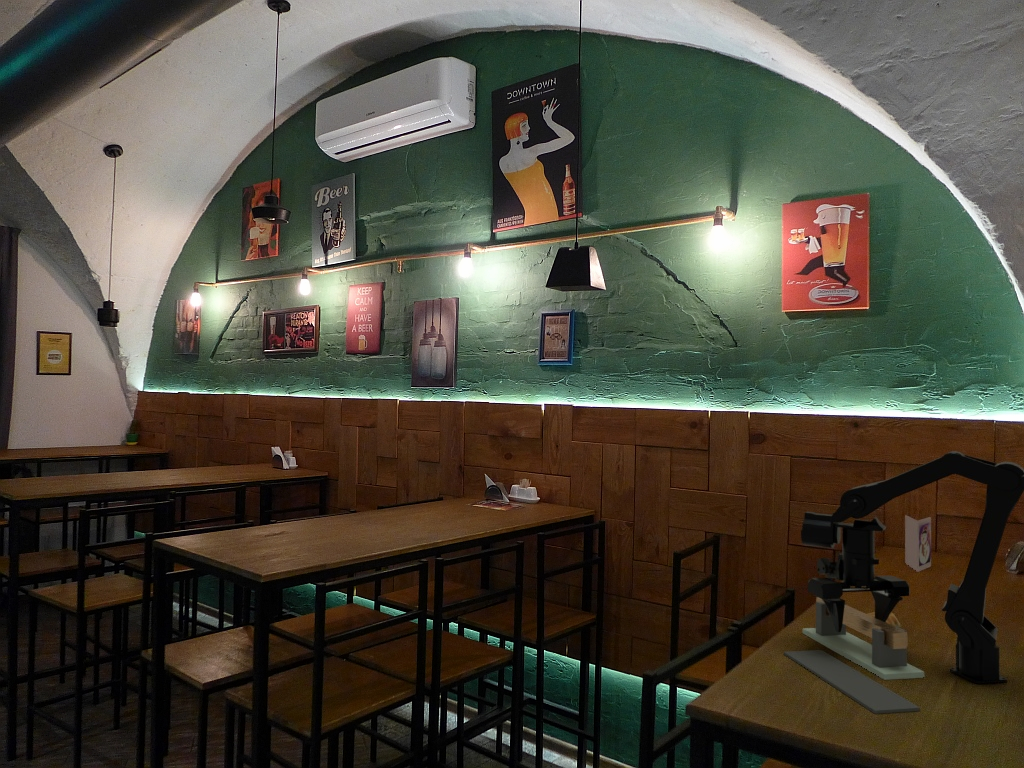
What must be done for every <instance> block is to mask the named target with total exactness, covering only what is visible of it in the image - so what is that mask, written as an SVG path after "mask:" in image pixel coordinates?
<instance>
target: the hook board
mask: <svg viewBox="0 0 1024 768" xmlns="http://www.w3.org/2000/svg"><path fill="white" fill-rule="evenodd" d="M845 605H847V602H845ZM896 628H898V629H900V630H903V631H905V632H907V633H908V631H907V629H904V628H901V626H900V627H896ZM802 634H803V635H805V636H807V637H809V638H811V640H813V641H815V642H817V643H818V644H821V645H823V646H825V647H826V648H828V649H830V650H831V651H833V652H835V653H837V654H838V655H840V656H842V657H843V656H844V657H843V658H845V659H847V660H849V661H850V660H851V662H852V663H854V664H856V665H857V664H858V666H859V665H860V666H859V667H861V666H862V668H863V669H864V668H865V670H866V669H867V671H868V672H870V673H871V672H872V674H873V673H874V674H873V675H875V674H876V675H875V676H877V677H878V676H879V678H880V679H882V680H884V681H888V680H904V679H905V680H906V679H924V678H925V671H923V670H922V669H920V668H917V667H916V666H914V665H912V664H910V663H908V656H907V655H908V653H907V652H908V651H907V649H908V648H905V649H893V648H891V647H889V646H887V645H885V644H884V631H882V630H880V629H878V628H872V638H871V643H869V642H866V641H865V640H863V639H861V638H859V637H857V636H855V635H853V634H851V633H849V632H847V626H846V625H844V624H843V625H842V629H841V632H837V631H836V630H835V627H834V624H833V622H832V619H831V618H830V617H828V616H826V604H825V603H822V602H820V601H818V602H816V601H815V627H806V628H805V627H804V628H802ZM923 677H924V678H923Z"/></svg>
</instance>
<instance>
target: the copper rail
mask: <svg viewBox="0 0 1024 768" xmlns="http://www.w3.org/2000/svg"><path fill="white" fill-rule="evenodd" d="M815 597H816V596H815ZM818 601H820V602H822V603H824V601H823V600H822V599H821V598H819V597H816V600H815V603H816V602H818ZM867 614H868V613H865V612H863V611H860V610H858V609H857V608H854V607H852V606H849V605H848V604H846V605H845V607H844V616H843V624H844V625H846V627H849V628H851V629H852V630H855V631H857V632H858V633H860V634H863V635H864V636H867V637H869V638H871V639H872V628H878V629H880V630H882V631H884V644H885V645H887V646H889V647H891V648H893V649H905V648H907V649H908V647H909V646H908V640H909V639H908V638H909V637H908V631H907V632H905V631H903V630H900V629H898V628H896V627H894V626H892V625H889V624H887V623H885V622H883V621H880V620H878V619H876V618H874V617H872V616H869V615H867ZM826 616H828V617H830V618H831V616H830V613H829V611H828V608H827V606H826Z"/></svg>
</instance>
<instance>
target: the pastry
mask: <svg viewBox="0 0 1024 768" xmlns="http://www.w3.org/2000/svg"><path fill="white" fill-rule="evenodd" d="M866 614H867V615H869V616H872V617H874V618H875V611H873V612H868V613H866ZM885 623H887V624H889V625H892V626H894V627H900V628H901V623H900V622H899V620H898V618H897V617H896V616H895V613H893V612H891V613H890V615H889V617H888V619H887V620H886V622H885Z"/></svg>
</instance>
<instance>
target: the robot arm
mask: <svg viewBox="0 0 1024 768" xmlns="http://www.w3.org/2000/svg"><path fill="white" fill-rule="evenodd" d="M952 475H957V476H961V477H963V478H966V479H969V480H971V481H975V482H977V483H980V484H983V485H985V486H986V494H985V508H984V509H985V510H984V513H983V516H982V520H981V524H980V526H979V530H978V533H977V535H976V536H977V537H976V538H975V539H976V540H975V542H974V546H973V547H972V548H973V549H972V552H971V555H970V559H969V561H968V564H967V568H966V571H965V575H964V578H963V579H962V581H961V583H960V584H959V585H955V584H954V583H950V585H949V588H948V590H947V596H946V597H947V598H946V600H945V601H944V603H943V606H942V609H941V611H942V612H945V615H944V620H945V624H946V625H947V627H948V628H949V629H950V630H951V631H952V632H954V634H956V644H955V666H954V667H953V666H952V667H949V672H951V673H954V674H956V675H957V676H960V677H962V678H964V679H966V680H968V681H970V682H972V683H975V684H993V683H994V684H995V683H1006V682H1008V678H1006V677H1004V676H1002V675H1000V646H998V645H997V635H998V630H999V629H998V627H997V626H996V625H995V624H994V623H992V621H991V620H990V619H989V618H988V617H987V616H986V615H985V611H986V610H985V608H986V597H987V595H986V594H987V586H988V582H989V580H990V576H991V573H992V571H993V567H994V564H995V561H996V558H997V554H998V551H999V547H1000V544H1001V541H1002V539H1003V536H1004V532H1005V529H1006V525H1007V523H1008V519H1009V517H1010V515H1011V513H1012V512H1013V510H1014V509H1015V507H1016V506H1017V504H1018V502H1019V500H1020V498H1022V495H1023V493H1024V468H1023V467H1022V466H1021V465H1019V464H1018V463H1015V462H1013V461H1001V462H998V463H996V462H993V461H989V460H986V459H982V458H979V457H974V456H971V455H968V454H963V452H960V451H956V450H952V451H949V452H947V453H945V454H944V455H942V456H940V457H938V458H935V459H933V460H931V461H929V462H928V461H927V462H926V463H925V464H922V465H919V466H916V467H915V468H912V469H910V470H907V471H905V472H903V473H899V474H898V475H895V476H892V477H891V478H888V479H884V480H881V481H876V482H871V483H867V484H863V485H859V486H854V487H852V488H850V489H848V490H846V491H844V492H843V493H842V494H841V496H840V497H841V498H840V501H839V504H840V505H839V507H838V508H836V510H835V511H833V512H832V514H827V513H817V512H814V511H806V512H804V518H803V521H802V527H801V529H800V539H801V544H802V545H803V546H810V547H820V548H828V549H834V548H835V546H836V545H839V544H840V542H841V539H842V544H841V545H842V553H838V555H837V560H836V561H831V559H830V558H829V557H821V558H820V557H819V558H817V559H816V560H817V561H816V562H817V563H816V569H817V574H819V575H825V577H811V578H810V579H809V580H808V582H807V592H808V593H810V594H812V595H814V596H815V597H819V598H821V599H822V600H823V601H824V603H825V604H826V606H827V608H828V611H829V613H830V616H831V619H832V622H833V624H834V627H835V630H836V631H837V632H841V629H842V625H843V616H844V607H845V603H846V600H845V599H843V598H841V597H842V596H843V594H844V593H860V592H861V593H863V592H870V593H871V595H872V598H873V600H874V612H875V618H876V619H878V620H880V621H883V622H886V620H887V619H888V617H889V615H890V613H893V610H894V609H895V608H896V606H897V605H898V604H899V602H900V601H903V600H904V597H910V594H911V593H910V592H911V591H910V590H911V587H910V585H909V584H908V582H907V581H906V580H905V579H901V578H899V577H897V576H893V575H876V576H875V566H876V565H880V559H878V558H876V557H875V532H881V533H882V532H883V531H884V530H886V528H887V526H886V525H884V523H882V522H881V521H880V520H879V518H878V517H877V516H876V517H874V518H873V519H871V520H866V519H865V520H863V519H864V518H865V517H867V516H868V515H869V514H872V513H873V512H875V511H876V510H877V509H879V508H881V507H883V506H884V505H886V504H888V503H889V502H890V501H892V500H894V499H896V498H898V497H901V496H904V495H905V494H908V493H910V492H912V491H915V490H917V489H920V488H922V487H925V486H927V485H930V484H933V483H935V482H937V481H939V480H942V479H945V478H946V477H949V476H952ZM850 518H852V519H854V521H853V523H848V522H844V521H847V520H849V519H850ZM862 518H863V519H862ZM841 537H842V538H841ZM834 579H835V580H837V581H835V580H834ZM838 581H840V582H838ZM841 581H842V582H841Z"/></svg>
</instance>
